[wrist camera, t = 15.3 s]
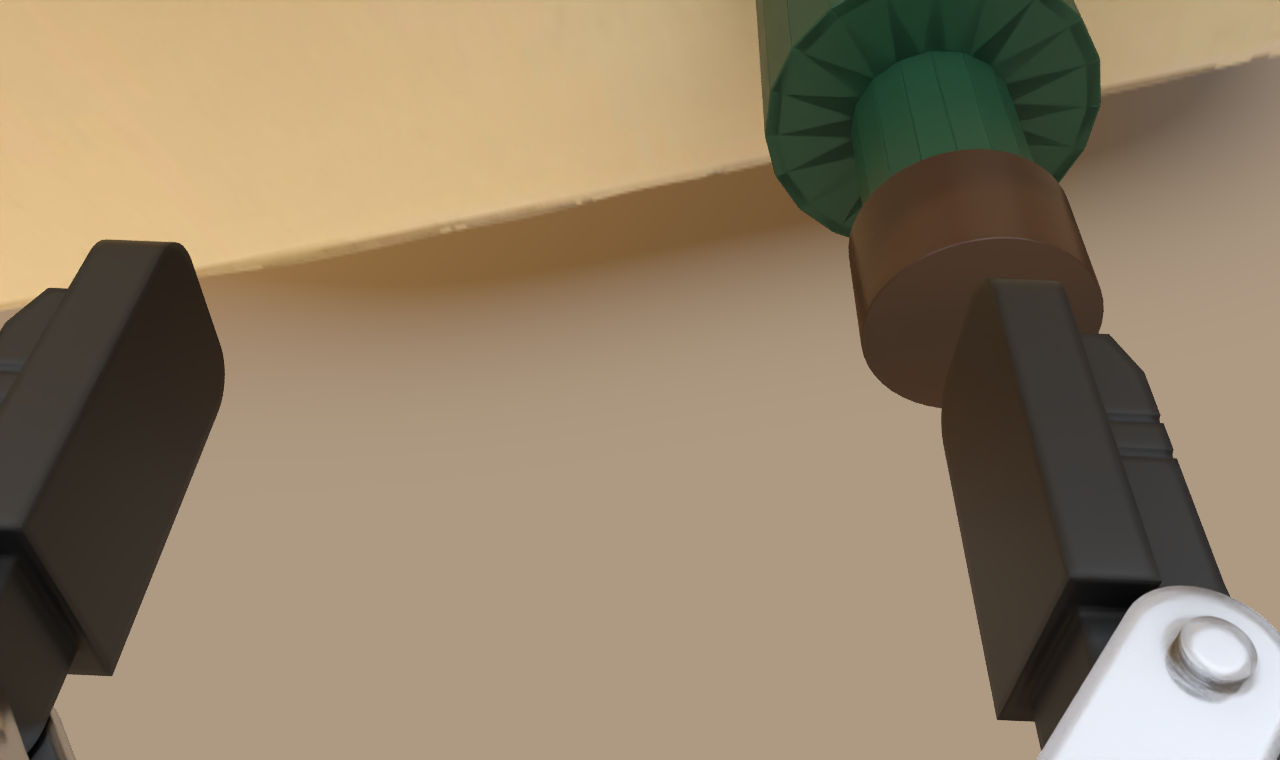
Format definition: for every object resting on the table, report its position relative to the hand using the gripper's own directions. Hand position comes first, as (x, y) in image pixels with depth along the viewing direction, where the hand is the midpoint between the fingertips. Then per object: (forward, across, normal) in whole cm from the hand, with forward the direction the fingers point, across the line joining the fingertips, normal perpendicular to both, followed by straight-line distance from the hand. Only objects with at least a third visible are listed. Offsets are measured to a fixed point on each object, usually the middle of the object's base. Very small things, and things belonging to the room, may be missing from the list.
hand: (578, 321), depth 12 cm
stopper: (+16, -8, +9) cm, 20 cm away
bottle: (+32, -8, +9) cm, 34 cm away
